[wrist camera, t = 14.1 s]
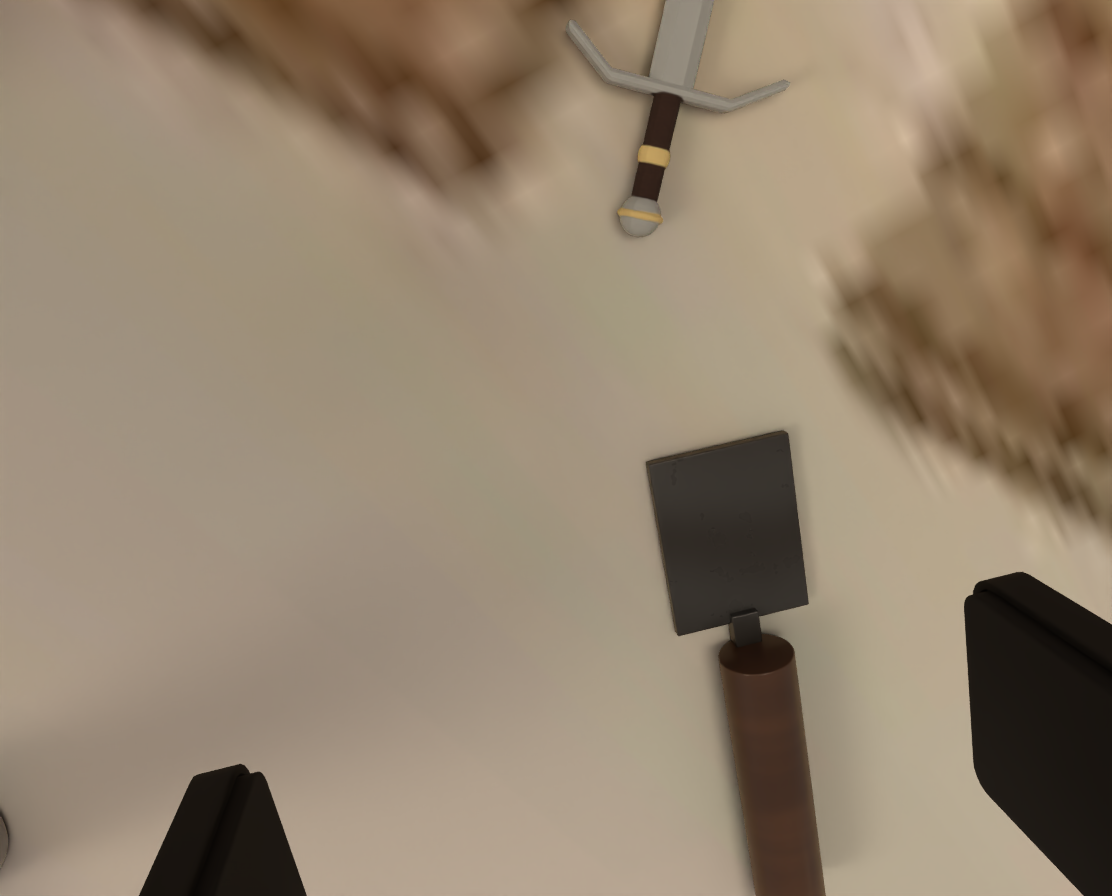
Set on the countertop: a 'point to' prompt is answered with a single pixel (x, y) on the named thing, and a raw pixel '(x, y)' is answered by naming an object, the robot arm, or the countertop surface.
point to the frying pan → (665, 99)
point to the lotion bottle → (3, 842)
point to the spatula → (747, 633)
